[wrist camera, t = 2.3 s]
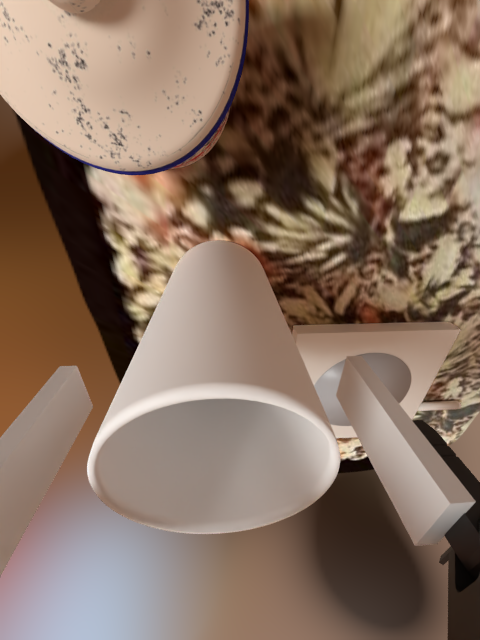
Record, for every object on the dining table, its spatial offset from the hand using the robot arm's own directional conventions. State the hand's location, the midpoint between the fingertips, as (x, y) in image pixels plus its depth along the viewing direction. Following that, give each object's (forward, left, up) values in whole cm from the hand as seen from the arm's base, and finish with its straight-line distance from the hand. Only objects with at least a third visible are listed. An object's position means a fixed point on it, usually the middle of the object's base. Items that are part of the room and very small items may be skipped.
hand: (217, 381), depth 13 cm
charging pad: (+12, +18, -11) cm, 24 cm away
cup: (0, 0, -11) cm, 11 cm away
